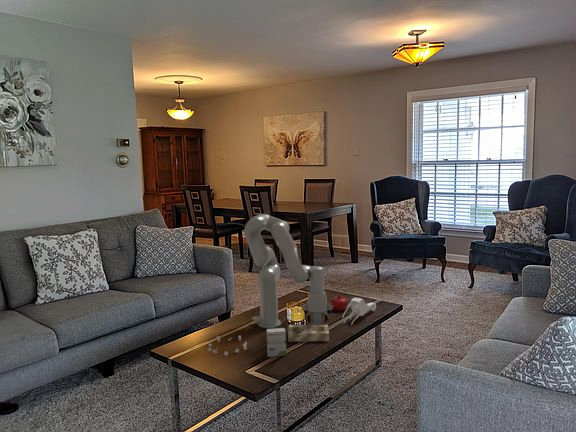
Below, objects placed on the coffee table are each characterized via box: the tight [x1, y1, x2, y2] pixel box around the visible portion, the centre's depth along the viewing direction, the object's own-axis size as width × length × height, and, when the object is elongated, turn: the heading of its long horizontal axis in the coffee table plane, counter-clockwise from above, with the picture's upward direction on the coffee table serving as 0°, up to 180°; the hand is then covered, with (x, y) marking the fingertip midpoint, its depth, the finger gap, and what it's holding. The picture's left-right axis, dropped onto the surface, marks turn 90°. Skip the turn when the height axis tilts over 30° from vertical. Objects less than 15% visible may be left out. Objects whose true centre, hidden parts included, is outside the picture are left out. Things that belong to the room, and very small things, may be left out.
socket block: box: [287, 324, 330, 342], centre depth 231 cm, size 20×12×4 cm, turn 88°
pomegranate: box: [330, 294, 349, 312], centre depth 272 cm, size 10×10×9 cm
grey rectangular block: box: [313, 312, 322, 325], centre depth 244 cm, size 4×4×8 cm
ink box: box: [266, 327, 287, 358], centre depth 211 cm, size 9×5×12 cm, turn 96°
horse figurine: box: [342, 297, 377, 326], centre depth 258 cm, size 6×18×28 cm
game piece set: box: [207, 334, 248, 356], centre depth 221 cm, size 19×20×4 cm
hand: (317, 321), depth 244 cm, fingers open, 8 cm apart
